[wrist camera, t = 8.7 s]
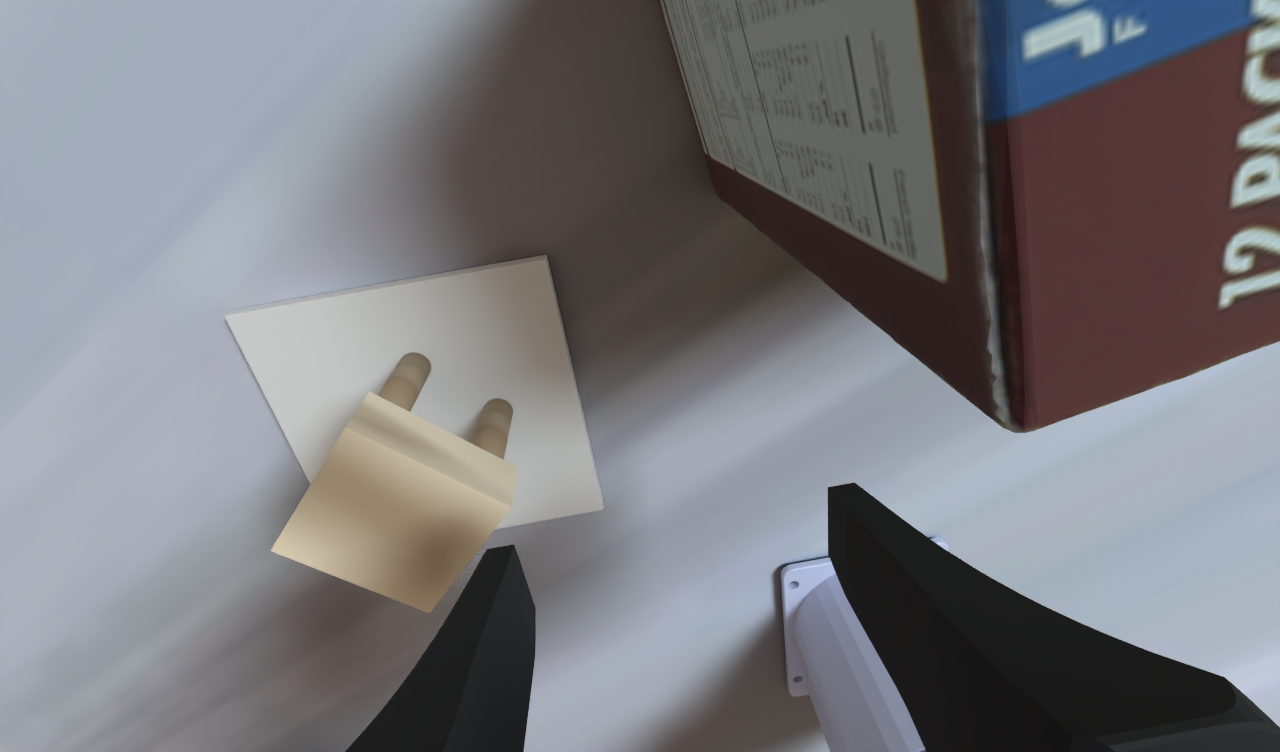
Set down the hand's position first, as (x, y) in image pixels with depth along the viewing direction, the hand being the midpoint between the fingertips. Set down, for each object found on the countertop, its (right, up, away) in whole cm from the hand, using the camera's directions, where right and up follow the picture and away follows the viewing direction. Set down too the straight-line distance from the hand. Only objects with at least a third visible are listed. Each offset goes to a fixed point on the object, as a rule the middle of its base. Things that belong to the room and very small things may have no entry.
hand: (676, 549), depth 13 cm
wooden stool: (-9, +2, +9) cm, 13 cm away
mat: (-9, +2, +10) cm, 13 cm away
